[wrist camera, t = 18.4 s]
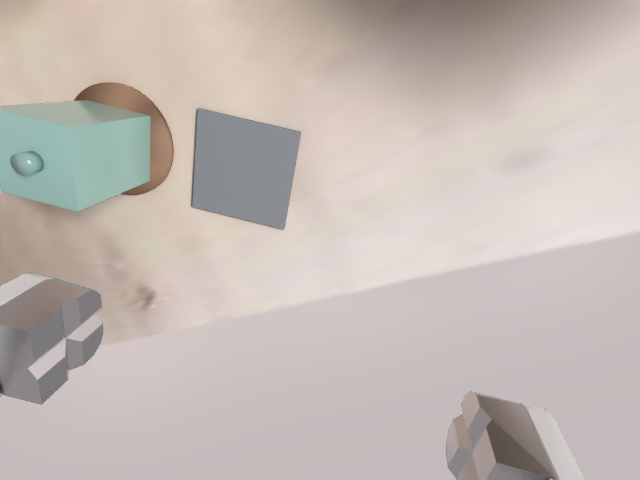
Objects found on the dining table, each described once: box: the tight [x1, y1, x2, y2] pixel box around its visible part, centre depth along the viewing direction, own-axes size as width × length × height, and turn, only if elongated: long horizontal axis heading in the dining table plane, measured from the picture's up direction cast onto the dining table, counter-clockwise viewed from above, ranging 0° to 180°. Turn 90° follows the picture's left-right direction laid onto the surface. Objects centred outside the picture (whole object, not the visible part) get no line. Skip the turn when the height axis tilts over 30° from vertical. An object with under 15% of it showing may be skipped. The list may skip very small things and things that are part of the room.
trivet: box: [74, 83, 173, 195], centre depth 38 cm, size 11×11×1 cm
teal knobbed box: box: [0, 100, 150, 212], centre depth 32 cm, size 7×7×11 cm
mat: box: [192, 108, 301, 230], centre depth 37 cm, size 10×10×1 cm
